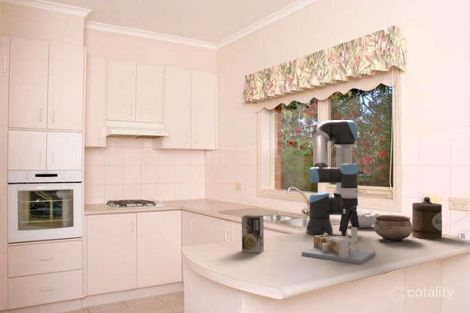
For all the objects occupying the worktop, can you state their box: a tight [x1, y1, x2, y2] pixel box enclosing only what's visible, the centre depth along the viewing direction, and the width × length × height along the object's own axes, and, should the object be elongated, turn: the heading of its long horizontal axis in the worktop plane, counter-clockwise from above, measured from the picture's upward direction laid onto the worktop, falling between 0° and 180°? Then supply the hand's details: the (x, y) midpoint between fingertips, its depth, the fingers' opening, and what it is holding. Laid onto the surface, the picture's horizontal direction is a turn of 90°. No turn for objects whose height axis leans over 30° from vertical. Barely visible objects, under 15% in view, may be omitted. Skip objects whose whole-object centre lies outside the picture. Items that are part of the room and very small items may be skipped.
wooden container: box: [411, 196, 443, 240], centre depth 214 cm, size 15×15×22 cm
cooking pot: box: [373, 214, 413, 243], centre depth 204 cm, size 25×19×12 cm
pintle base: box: [301, 233, 376, 265], centre depth 171 cm, size 26×21×9 cm
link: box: [313, 235, 351, 254], centre depth 175 cm, size 18×7×5 cm, turn 23°
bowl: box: [349, 209, 380, 229], centre depth 244 cm, size 21×20×10 cm
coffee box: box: [241, 214, 265, 254], centre depth 179 cm, size 9×6×16 cm
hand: (349, 243), depth 178 cm, fingers open, 13 cm apart
